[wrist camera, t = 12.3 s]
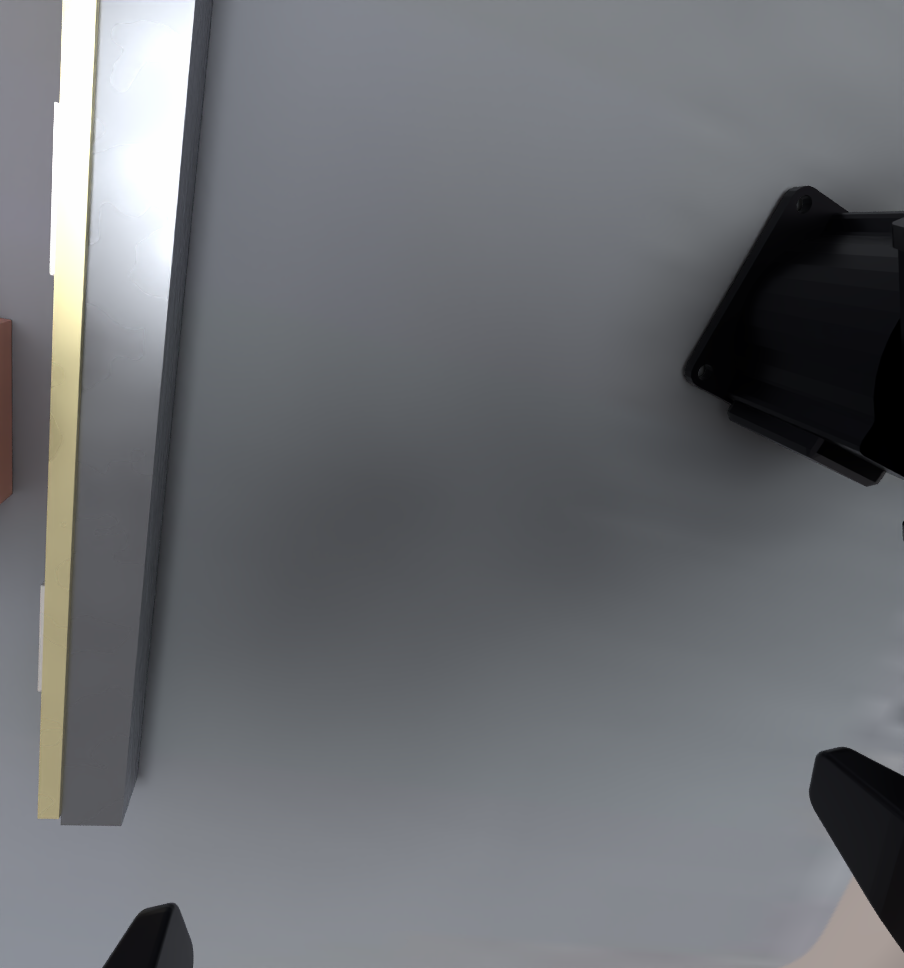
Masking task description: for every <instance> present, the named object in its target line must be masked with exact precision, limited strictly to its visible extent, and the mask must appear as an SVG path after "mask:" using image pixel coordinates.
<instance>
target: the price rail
mask: <svg viewBox="0 0 904 968" xmlns="http://www.w3.org/2000/svg"><path fill="white" fill-rule="evenodd" d="M212 4H213V0H63V17H62V49H61V81H60V104H59V103H56V102H55V107H54V142H53V177H52V212H51V247H50V274H51V275H54V306H53V339H52V371H51V403H50V435H49V468H48V500H47V532H46V564H45V581H44V582H43V583H42V585H41V596H40V631H39V666H38V691H42V693H41V725H40V757H39V790H38V819H59V817H60V815H61V825H97V826H121V825H122V822H123V819H124V816H125V813H126V810H127V807H128V804H129V801H130V798H131V795H132V792H133V789H134V786H135V783H136V780H137V774H138V764H139V754H140V744H141V733H142V723H143V713H144V702H145V692H146V682H147V672H148V661H149V651H150V641H151V631H152V620H153V610H154V600H155V589H156V579H157V569H158V559H159V548H160V538H161V528H162V517H163V507H164V497H165V487H166V476H167V466H168V456H169V446H170V435H171V425H172V415H173V404H174V394H175V384H176V374H177V363H178V353H179V343H180V332H181V322H182V312H183V302H184V291H185V281H186V271H187V261H188V250H189V240H190V230H191V219H192V209H193V199H194V189H195V178H196V168H197V158H198V147H199V137H200V127H201V117H202V106H203V96H204V86H205V76H206V65H207V55H208V45H209V34H210V24H211V14H212Z"/></svg>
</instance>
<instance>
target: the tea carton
mask: <svg viewBox="0 0 904 968" xmlns="http://www.w3.org/2000/svg"><path fill="white" fill-rule="evenodd" d="M11 494H12V326H11V320H9V319H4V318H0V504H1V503H2V502H3V501H4V500H6V499H7V498H8V497H9V496H10V495H11Z"/></svg>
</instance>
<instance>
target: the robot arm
mask: <svg viewBox="0 0 904 968" xmlns="http://www.w3.org/2000/svg"><path fill="white" fill-rule="evenodd" d="M800 197H801V198H802V200H803V205H802V208H801V210H800V211H799V212H798V210H797V202H798V200H799V199H800ZM703 365H705V366H706V370H705V373H704V374H703V375H702V376H701V377H699V376H698V372H699V369H700V368H701V367H702V366H703ZM685 377H686V380H687V381H688V382H689V383H690V384H692V385H694V386H696V387H698V388H700V389H702V390H704V391H706V392H708V393H710V394H712V395H714V396H716V397H718V398H720V399H722V400H724V401H725V402H727V403H729V404H731V406H730V408H729V409H728V411H727V412H728V416H729V419H730V420H731V421H733V422H735V423H737V424H739V425H741V426H743V427H745V428H747V429H749V430H751V431H753V432H755V433H757V434H759V435H761V436H763V437H765V438H767V439H769V440H771V441H773V442H775V443H777V444H779V445H781V446H783V447H785V448H787V449H789V450H791V451H793V452H796V453H798V454H800V455H802V456H804V457H806V458H808V459H810V460H812V461H814V462H816V463H818V464H820V465H823V466H825V467H827V468H829V469H831V470H833V471H835V472H837V473H839V474H841V475H843V476H845V477H847V478H850V479H852V480H854V481H856V482H858V483H860V484H862V485H864V486H866V487H867V486H871V485H876V484H878V483H879V482H880V480H881V479H882V477H883V476H884V474H885V473H886V472H887V473H890V474H892V475H894V476H896V477H899V478H901V479H903V480H904V211H895V212H848V211H846V210H845V209H844V208H842V207H841V206H839V205H838V204H837V203H835V202H834V201H832V200H831V199H829V198H828V197H827V196H825V195H824V194H822V193H821V192H819V191H818V190H817V189H815V188H813V187H811V186H800V187H794V188H792V189H790V190H789V191H788V192H787V193H786V194H785V195H784V197H783V198H782V200H781V202H780V203H779V205H778V207H777V209H776V210H775V212H774V214H773V216H772V217H771V219H770V221H769V222H768V224H767V226H766V228H765V229H764V231H763V233H762V235H761V236H760V238H759V240H758V242H757V243H756V245H755V247H754V248H753V250H752V252H751V254H750V255H749V257H748V259H747V261H746V262H745V264H744V266H743V267H742V269H741V271H740V273H739V274H738V276H737V278H736V280H735V281H734V283H733V285H732V287H731V288H730V290H729V292H728V293H727V295H726V297H725V299H724V300H723V302H722V304H721V306H720V307H719V309H718V311H717V313H716V314H715V316H714V318H713V319H712V321H711V323H710V325H709V326H708V328H707V330H706V332H705V333H704V335H703V337H702V338H701V340H700V342H699V344H698V345H697V347H696V349H695V351H694V352H693V354H692V356H691V358H690V359H689V361H688V363H687V365H686V368H685ZM902 526H903V540H904V521H903V523H902ZM809 797H810V801H811V804H812V806H813V808H814V810H815V812H816V814H817V815H818V817H819V819H820V820H821V822H822V824H823V825H824V827H825V829H826V831H827V832H828V834H829V836H830V837H831V839H832V841H833V842H834V844H835V846H836V847H837V849H838V851H839V852H840V854H841V856H842V857H843V859H844V861H845V862H846V864H847V866H848V867H849V869H850V871H851V872H852V874H853V876H854V877H855V879H856V881H857V882H858V884H859V886H860V887H861V889H862V890H863V892H864V894H865V896H866V897H867V899H868V900H869V902H870V904H871V905H872V907H873V908H874V910H875V911H876V913H877V915H878V916H879V918H880V919H881V921H882V922H883V924H884V925H885V926H886V928H887V929H888V931H889V932H890V934H891V935H892V937H893V938H894V939H895V941H896V942H897V944H898V945H899V946H900V948H901V949H902V951H903V952H904V776H902V775H901V774H899V773H897V772H895V771H893V770H891V769H889V768H887V767H885V766H883V765H881V764H879V763H877V762H876V761H874V760H872V759H870V758H868V757H866V756H864V755H862V754H860V753H858V752H856V751H854V750H852V749H850V748H847V747H837V748H833V749H829V750H825V751H821V752H819V753H818V754H817V756H816V758H815V763H814V768H813V773H812V778H811V783H810V788H809ZM103 968H193V946H192V942H191V939H190V936H189V933H188V931H187V928H186V925H185V923H184V920H183V917H182V914H181V912H180V909H179V907H178V906H177V905H176V904H175V903H167V904H163V905H158V906H154V907H150V908H146V909H144V910H143V911H141V912H140V913H139V914H138V915H137V916H136V918H135V919H134V920H133V922H132V923H131V925H130V927H129V928H128V930H127V931H126V933H125V934H124V936H123V937H122V939H121V940H120V942H119V943H118V945H117V946H116V948H115V949H114V951H113V952H112V954H111V955H110V957H109V958H108V960H107V961H106V963H105V965H104V966H103Z"/></svg>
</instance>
